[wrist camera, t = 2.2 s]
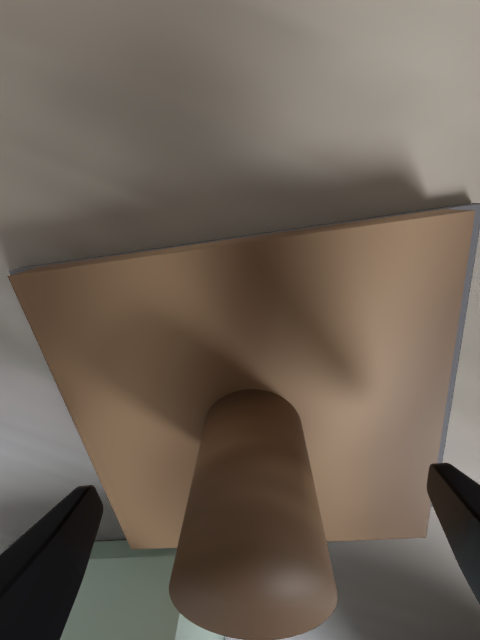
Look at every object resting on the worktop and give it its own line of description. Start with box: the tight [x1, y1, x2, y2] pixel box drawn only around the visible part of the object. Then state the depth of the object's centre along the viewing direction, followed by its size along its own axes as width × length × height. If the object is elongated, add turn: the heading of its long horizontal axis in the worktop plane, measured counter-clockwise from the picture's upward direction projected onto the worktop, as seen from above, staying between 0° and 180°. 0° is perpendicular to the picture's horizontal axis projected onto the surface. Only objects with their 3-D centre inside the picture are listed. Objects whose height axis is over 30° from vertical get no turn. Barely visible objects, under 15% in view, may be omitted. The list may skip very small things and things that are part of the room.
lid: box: [8, 209, 475, 640], centre depth 8 cm, size 12×12×6 cm
